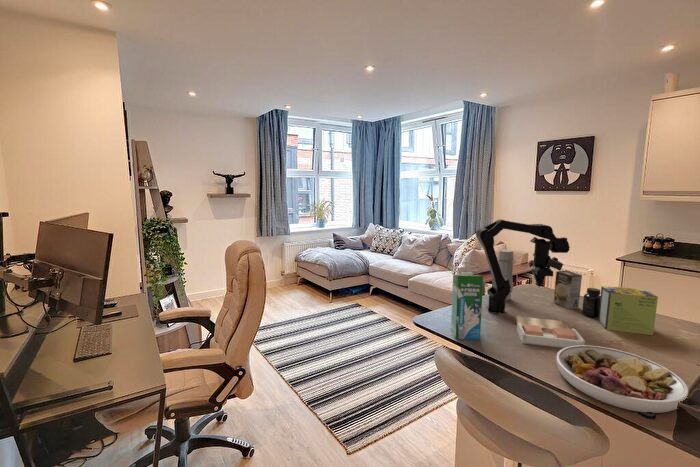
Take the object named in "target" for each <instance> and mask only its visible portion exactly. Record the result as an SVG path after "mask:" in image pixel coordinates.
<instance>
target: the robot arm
mask: <svg viewBox="0 0 700 467" xmlns="http://www.w3.org/2000/svg"><path fill="white" fill-rule="evenodd" d="M503 230H508V231H515V232H520V233H521V232H522V233H526V234H530V235H533V236H534V237H533V238H531V239H530V240H529V242H530V243H532V244H534V253H533V254H532V255H533V259H532V260H529V261H528V267H529V268H532V267H533V268H532V269H530V270H531V273H532V275H533V278H534V281H535V283H536V286H537V287H539V288H540V287H541V286H542V284H543V282H544V279H545V277H554V271H553V270H552V269H551V268H553V269H555V270H557V271H562V268H563V267H564V264H563V263H562V262H561V261H559V258H557V257H555V256H553V257H551V256H550V252H551V253H552V254H555V253H556V254H559V253H560V254H563V253H565V254H567V253H569V251H570V248H571V247H570V243H569V241H568V238H567V237H556V235H555V234H554V230H553V228H552V226H549V225H547V224H543V223H532V224H531V223H529V224H527V223H523V222H515V221H509V220H505V219H500V218H499V219H497V220H495V221H494V222H492V223H490V224H487V225H485V226H484V227H480V228H478V229H477V231H476V232H475V236H476V238H477V240H478V243H479V244H480V245H481V247H482V248H483V250H484V251H483V252H484V254H485V257H486V261H487V264H488V267H489V271H490V273H491V285H492V286H491V287H490V288H488V289H487V290H486V292H487V294H488V301H487V311H488V313H493V314H494V313H495V314H505V313H504V312H505V311H506V301H505V299H506V297H507V296H508V295H509V293H510V288H511V287H510V284H509V280H508V279H507V278H506V277H504V276H502V273H501V269H500V266H499V263H498V256H497V253H496V251H495V246H494V245H495V238H494V237H496V236H498V235H499V233H500V232H502V231H503ZM538 237H539V238H538Z"/></svg>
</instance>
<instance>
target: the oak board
mask: <svg viewBox="0 0 700 467" xmlns="http://www.w3.org/2000/svg"><path fill="white" fill-rule="evenodd" d="M515 322H516V323H515V324H517V322H518V323H521V326H522V328H523V324H526V325H536V326H540V327H541V329H542V331H543V332H549V333H552V329H553V328H563V329H570V330H571V328H570V327H569V326H568V324H567V323H566V322H565V321H564V320H556V319H546V318H538V317H537V318H535V317H527V316H519V315H517V316H515Z"/></svg>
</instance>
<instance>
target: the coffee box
mask: <svg viewBox="0 0 700 467" xmlns="http://www.w3.org/2000/svg"><path fill="white" fill-rule="evenodd" d="M582 280H583V275H582V274H579V273H577V272H572V271H570V270H568V269H567V270H560V271H559V270H557V271H556V273H555V283H554V284H555V285H554V291H553V292H554V293H553V303H554V304H556V305H558V306H560V307H563V308H564V309H565V308H566V309H568V310H572V309H579V306H580V305H579V304H580V297H581V290H582V288H581V287H582Z"/></svg>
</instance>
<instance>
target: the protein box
mask: <svg viewBox="0 0 700 467" xmlns="http://www.w3.org/2000/svg"><path fill="white" fill-rule="evenodd" d="M600 288H601V289H600V296H601V297H600V307H599V316H598V318H597V321H598V322H599V323H600V325H602V326H603V328H604V329H605V330H607V331H615V332H622V333H632V334H639V335H648V336H653V335H654V330H655V322H656V315H657V307H658V300H659V299H658V298H659V296H657V295H655V294H654V293H652V292H650V291H649V290H647V289H646V288H635V287H634V288H633V287H624V286H623V287H620V286H606V285H601V287H600Z"/></svg>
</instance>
